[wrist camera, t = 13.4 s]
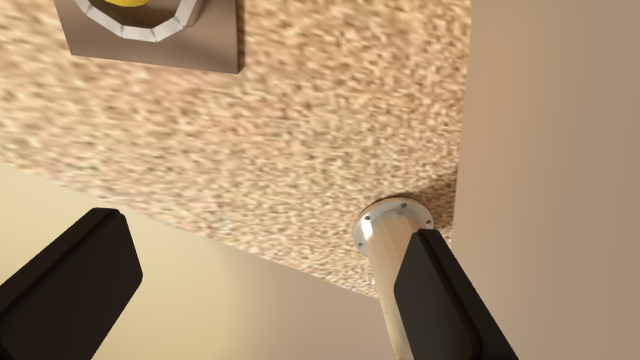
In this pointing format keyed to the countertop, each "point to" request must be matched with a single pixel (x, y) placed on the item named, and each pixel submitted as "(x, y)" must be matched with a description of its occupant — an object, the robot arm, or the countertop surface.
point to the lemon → (128, 2)
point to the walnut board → (179, 51)
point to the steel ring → (108, 17)
